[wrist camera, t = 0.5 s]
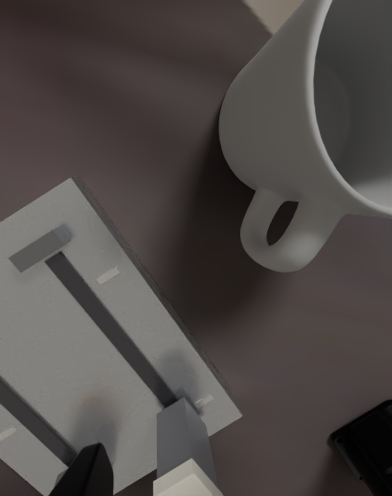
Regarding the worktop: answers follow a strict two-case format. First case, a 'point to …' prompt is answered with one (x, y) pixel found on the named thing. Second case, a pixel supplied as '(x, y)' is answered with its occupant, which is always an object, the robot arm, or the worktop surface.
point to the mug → (313, 126)
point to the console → (89, 345)
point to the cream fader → (183, 454)
